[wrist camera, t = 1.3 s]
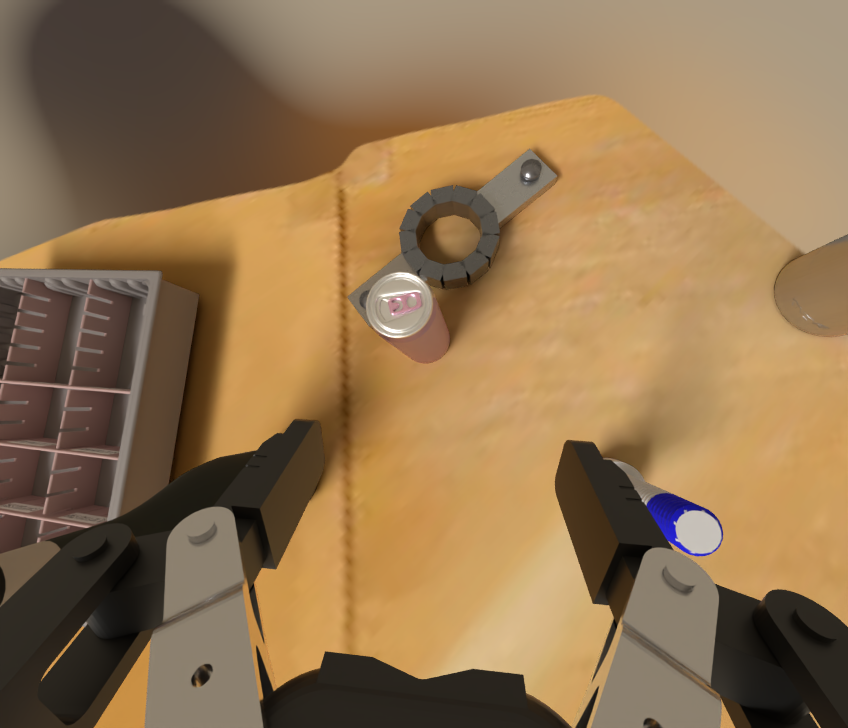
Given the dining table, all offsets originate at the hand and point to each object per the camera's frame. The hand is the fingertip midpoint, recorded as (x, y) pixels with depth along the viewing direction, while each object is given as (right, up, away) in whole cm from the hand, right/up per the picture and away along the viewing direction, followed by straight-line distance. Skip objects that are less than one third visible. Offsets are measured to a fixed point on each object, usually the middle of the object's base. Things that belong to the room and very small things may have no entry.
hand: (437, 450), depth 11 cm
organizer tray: (-48, -6, +38) cm, 61 cm away
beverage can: (0, +6, +31) cm, 32 cm away
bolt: (+20, -10, +26) cm, 34 cm away
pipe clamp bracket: (+3, +18, +32) cm, 37 cm away
